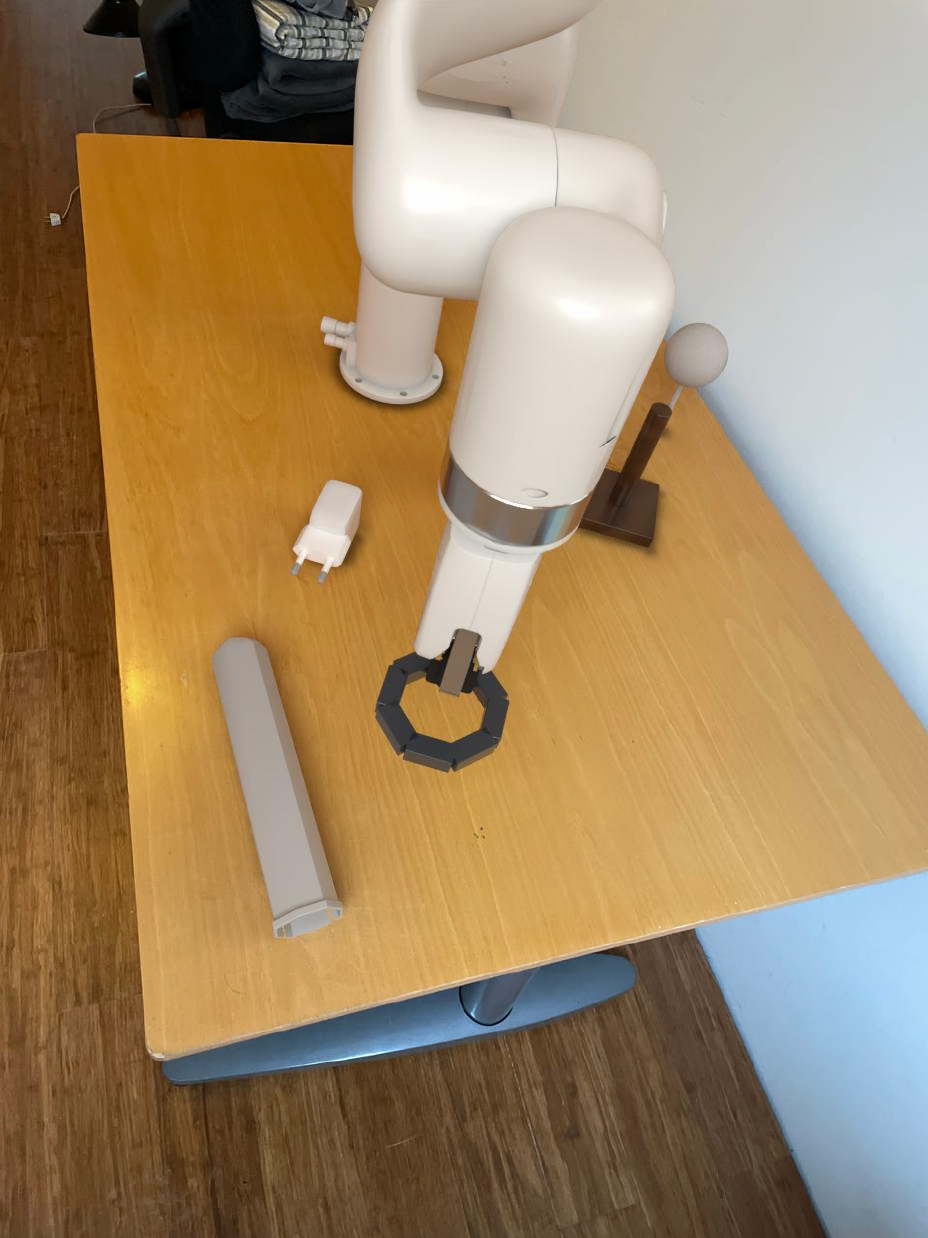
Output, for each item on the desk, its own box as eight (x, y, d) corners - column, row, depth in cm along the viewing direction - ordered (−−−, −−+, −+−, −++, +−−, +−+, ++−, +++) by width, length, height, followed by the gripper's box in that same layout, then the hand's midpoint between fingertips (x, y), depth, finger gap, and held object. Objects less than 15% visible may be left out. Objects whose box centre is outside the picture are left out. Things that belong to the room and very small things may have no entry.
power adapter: (329, 607, 78) (332, 569, 73) (280, 592, 78) (281, 553, 73) (365, 527, 84) (370, 487, 80) (320, 513, 84) (323, 472, 80)
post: (571, 524, 90) (614, 424, 79) (581, 471, 96) (623, 370, 84) (648, 547, 90) (703, 450, 79) (654, 493, 96) (706, 395, 84)
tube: (194, 640, 68) (261, 932, 56) (254, 616, 69) (334, 901, 56) (218, 668, 73) (285, 944, 60) (274, 646, 73) (353, 915, 61)
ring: (362, 748, 51) (364, 737, 50) (397, 644, 56) (400, 632, 55) (488, 785, 51) (492, 776, 50) (512, 678, 56) (517, 667, 55)
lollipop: (684, 457, 101) (739, 356, 89) (629, 441, 100) (677, 337, 89) (686, 421, 105) (739, 320, 93) (633, 405, 105) (679, 302, 93)
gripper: (478, 361, 45) (428, 567, 60) (401, 573, 35) (365, 755, 50) (608, 401, 45) (526, 597, 60) (565, 622, 36) (481, 790, 50)
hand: (453, 668), depth 55 cm, fingers closed on ring, 1 cm apart
